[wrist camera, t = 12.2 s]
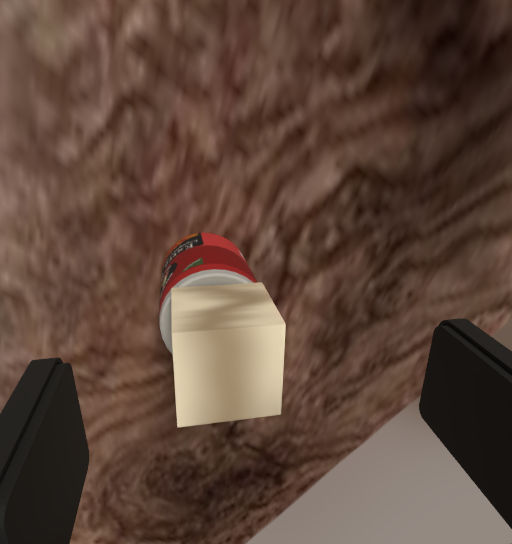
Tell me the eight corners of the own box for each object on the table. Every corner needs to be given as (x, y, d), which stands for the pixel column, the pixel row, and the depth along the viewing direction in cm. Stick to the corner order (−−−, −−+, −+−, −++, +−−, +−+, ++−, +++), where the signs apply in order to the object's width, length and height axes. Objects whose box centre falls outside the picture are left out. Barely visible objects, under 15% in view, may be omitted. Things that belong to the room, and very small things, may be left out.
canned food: (184, 215, 35) (190, 253, 25) (260, 253, 38) (293, 301, 28) (147, 287, 37) (138, 350, 27) (222, 318, 39) (240, 386, 29)
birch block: (261, 282, 27) (285, 324, 21) (259, 358, 29) (280, 414, 23) (171, 287, 25) (171, 333, 20) (176, 366, 28) (177, 427, 22)
